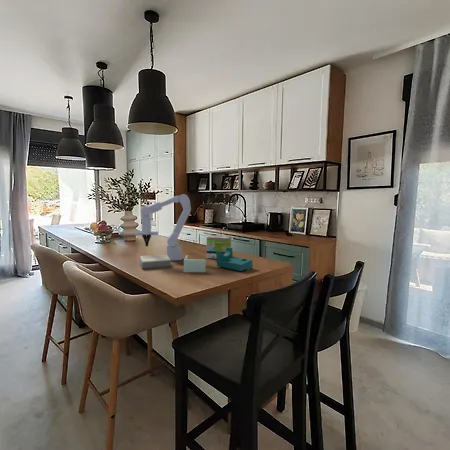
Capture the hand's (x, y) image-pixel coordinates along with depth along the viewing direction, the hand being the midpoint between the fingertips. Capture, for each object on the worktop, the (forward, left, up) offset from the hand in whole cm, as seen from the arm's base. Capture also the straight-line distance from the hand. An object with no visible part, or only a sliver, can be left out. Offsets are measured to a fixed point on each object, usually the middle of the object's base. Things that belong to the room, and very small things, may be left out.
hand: (146, 246), depth 184 cm
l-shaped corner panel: (-24, +33, -10) cm, 42 cm away
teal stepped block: (-46, +38, -10) cm, 60 cm away
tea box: (-47, +8, -10) cm, 49 cm away
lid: (-3, +16, -5) cm, 17 cm away
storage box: (-3, +16, -9) cm, 19 cm away
